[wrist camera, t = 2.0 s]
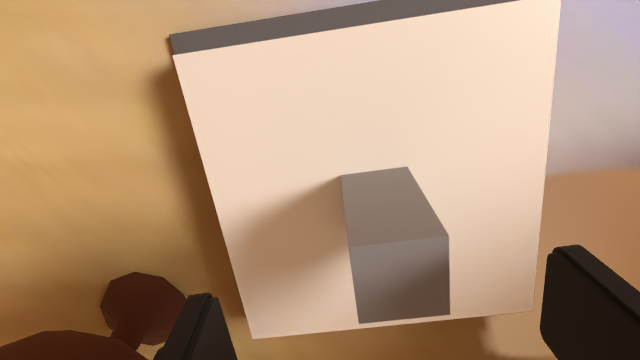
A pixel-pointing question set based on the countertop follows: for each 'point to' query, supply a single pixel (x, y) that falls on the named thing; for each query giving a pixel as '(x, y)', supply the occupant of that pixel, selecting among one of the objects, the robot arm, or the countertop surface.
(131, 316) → the ice cream bowl
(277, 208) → the lid
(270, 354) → the countertop surface
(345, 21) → the mat
